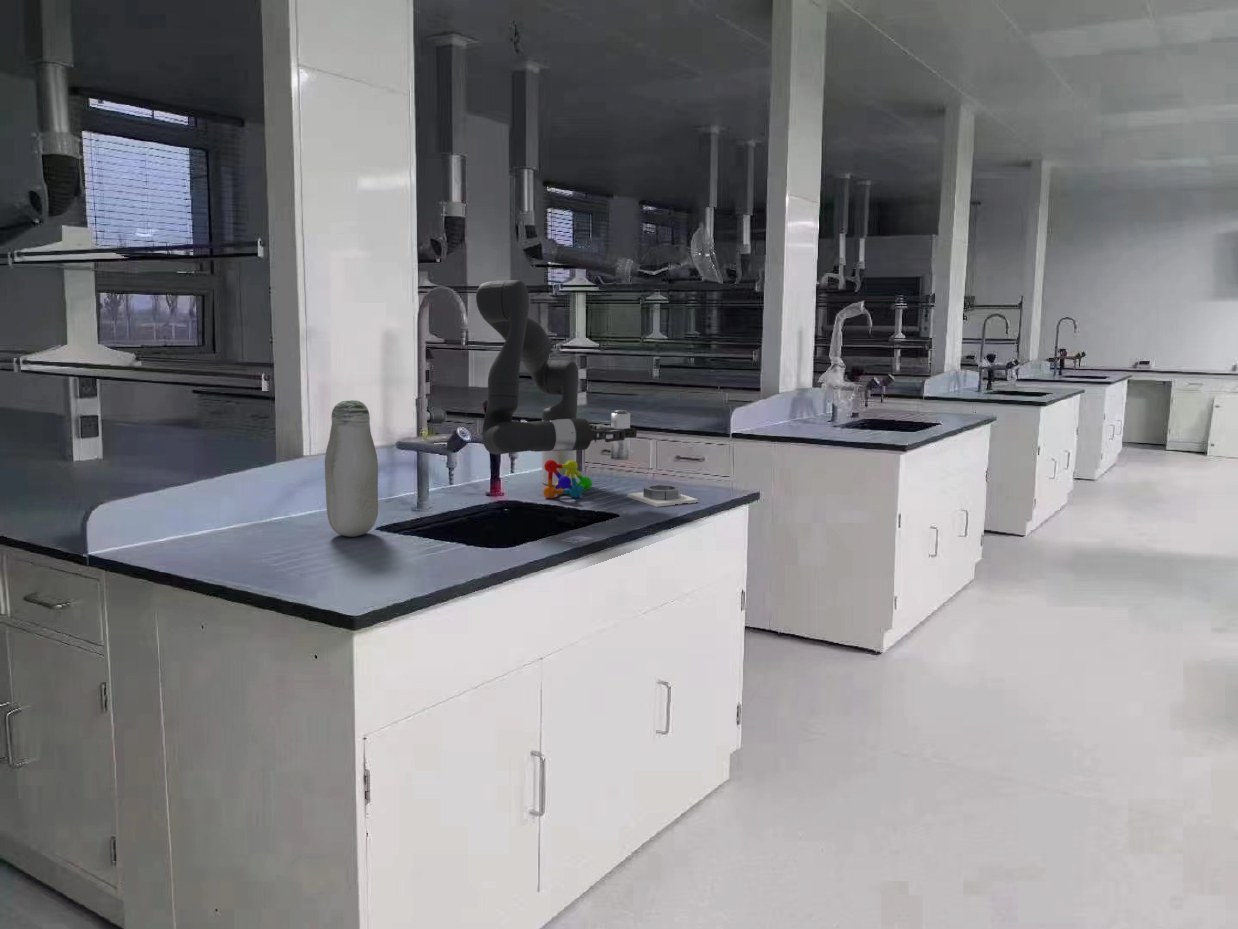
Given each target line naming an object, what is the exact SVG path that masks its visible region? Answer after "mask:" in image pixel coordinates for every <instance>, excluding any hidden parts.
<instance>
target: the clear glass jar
mask: <svg viewBox="0 0 1238 929" xmlns="http://www.w3.org/2000/svg"><path fill="white" fill-rule="evenodd" d="M610 426H612V427H613V428H623V429H624V428H631V412H628V410H625V409H624V410H623V409H621V410H620V409H615V410H613V412H611V413H610ZM630 439H631V438H625V440H623V441H621V440H620V441H612V442H610V460H614V461H626V460H630V452H631V450H630V448H631V446H630V445H631V444H630V443H631V440H630Z"/></svg>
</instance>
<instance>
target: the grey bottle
mask: <svg viewBox="0 0 1238 929" xmlns="http://www.w3.org/2000/svg"><path fill="white" fill-rule="evenodd" d="M330 417H331V426H330V431H329V439H328V441H327V442H328V443H327V446H326V450H325V456H324V478H325V479H324V481H325V498H326V500H325V501H326V502H325V503H326V514H327V520H328V523H329V526H331V529H332V530H333V531H334V533H336V534H337V535H341V536H343V537H350V538H351V537H352V538H353V537H359V536H362V535H365V534H367V533H368V532H370V531H371V530H372V528H373V527H374V525H375V524H376V522H377V519H378V514H379V489H378V488H379V487H378V485H379V482H378V481H379V463H378V462H379V461H378V456H377V450H376V447H375V443H374V439H373V436H372V431H371V423H370V422H371V421H370V412H369V409H368V407H367V406H366V404H365V403H364V402H362V401H360V400H356V399H355V400H354V399H353V400H342V401H340V402H338V403H336V404H335V405H334V406H333V409H332V410H331V416H330Z"/></svg>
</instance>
